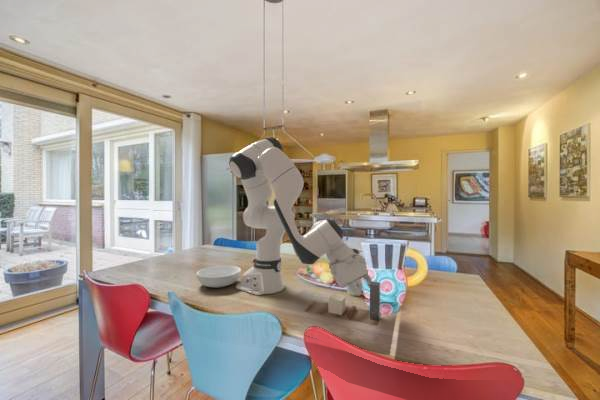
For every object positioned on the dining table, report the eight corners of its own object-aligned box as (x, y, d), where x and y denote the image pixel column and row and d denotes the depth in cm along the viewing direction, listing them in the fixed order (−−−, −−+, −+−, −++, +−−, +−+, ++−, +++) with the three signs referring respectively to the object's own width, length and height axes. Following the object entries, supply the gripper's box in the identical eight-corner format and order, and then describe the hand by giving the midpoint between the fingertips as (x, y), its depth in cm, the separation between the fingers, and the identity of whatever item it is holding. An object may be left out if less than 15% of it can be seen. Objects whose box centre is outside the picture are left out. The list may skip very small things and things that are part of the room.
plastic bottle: (351, 300, 109) (351, 252, 108) (344, 294, 115) (344, 249, 115) (365, 298, 110) (365, 251, 110) (357, 292, 117) (357, 248, 117)
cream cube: (328, 312, 94) (328, 298, 94) (332, 307, 99) (332, 293, 99) (341, 315, 92) (341, 300, 92) (345, 309, 97) (345, 296, 97)
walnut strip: (304, 314, 95) (304, 278, 95) (313, 303, 105) (313, 271, 104) (377, 329, 85) (377, 288, 85) (381, 316, 94) (381, 279, 94)
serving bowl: (246, 278, 138) (246, 265, 137) (232, 293, 117) (232, 278, 117) (208, 277, 140) (208, 264, 139) (188, 291, 119) (188, 276, 119)
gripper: (332, 257, 87) (359, 293, 81) (359, 248, 103) (383, 278, 97) (321, 268, 90) (346, 304, 84) (349, 258, 106) (372, 287, 100)
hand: (366, 290), depth 91 cm, fingers open, 8 cm apart
